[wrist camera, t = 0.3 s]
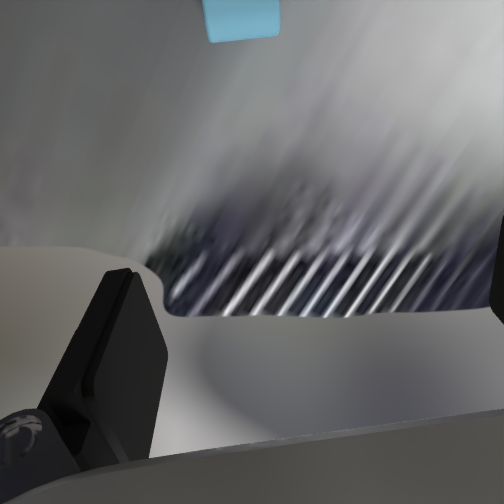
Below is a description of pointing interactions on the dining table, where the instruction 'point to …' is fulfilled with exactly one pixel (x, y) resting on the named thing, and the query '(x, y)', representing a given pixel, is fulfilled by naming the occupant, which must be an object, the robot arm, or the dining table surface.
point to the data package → (241, 19)
